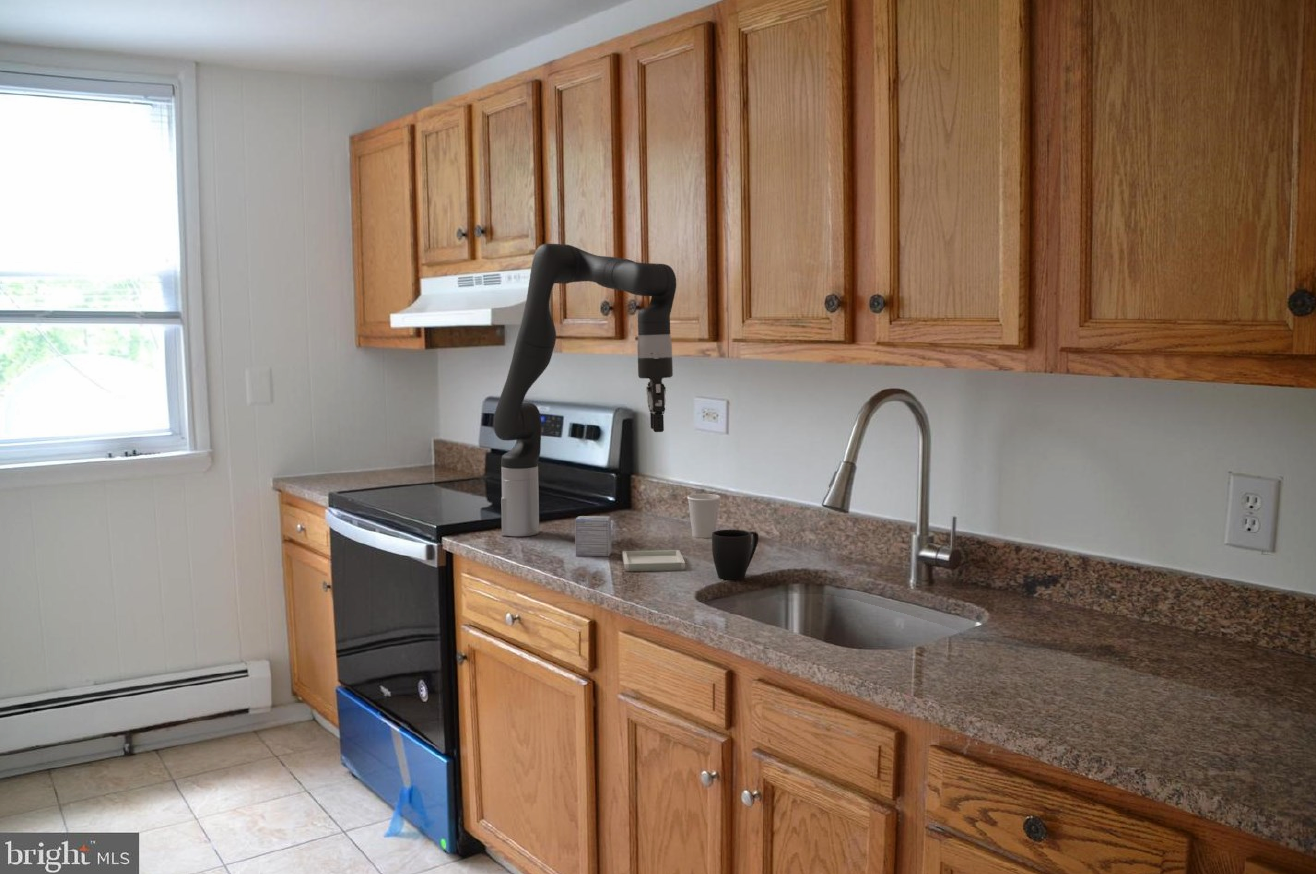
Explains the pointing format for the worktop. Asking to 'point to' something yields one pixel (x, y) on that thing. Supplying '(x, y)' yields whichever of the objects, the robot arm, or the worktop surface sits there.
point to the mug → (733, 552)
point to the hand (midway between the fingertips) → (657, 430)
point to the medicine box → (593, 536)
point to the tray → (653, 560)
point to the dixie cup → (703, 514)
